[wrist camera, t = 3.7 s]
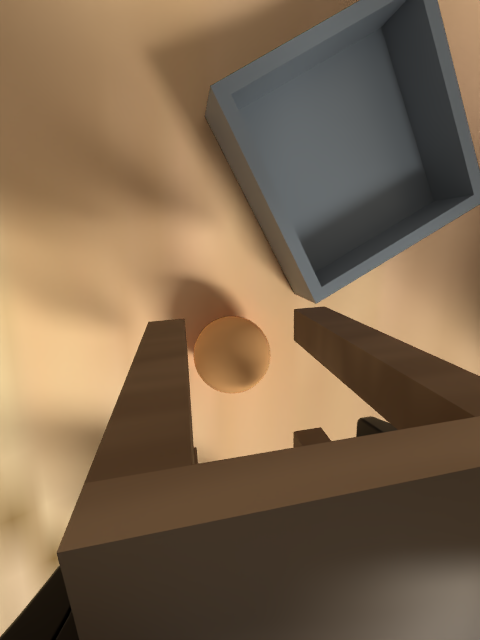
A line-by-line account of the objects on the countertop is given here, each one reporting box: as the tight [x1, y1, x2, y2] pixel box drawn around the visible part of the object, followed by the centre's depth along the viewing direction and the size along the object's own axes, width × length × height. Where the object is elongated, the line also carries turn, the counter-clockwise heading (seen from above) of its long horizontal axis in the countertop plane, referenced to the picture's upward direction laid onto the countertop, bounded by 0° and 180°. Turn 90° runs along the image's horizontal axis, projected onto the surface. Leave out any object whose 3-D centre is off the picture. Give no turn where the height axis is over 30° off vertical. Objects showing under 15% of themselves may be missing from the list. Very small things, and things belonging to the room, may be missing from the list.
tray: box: [205, 0, 480, 303], centre depth 15 cm, size 10×10×3 cm
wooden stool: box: [57, 307, 480, 640], centre depth 8 cm, size 6×6×8 cm
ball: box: [194, 316, 270, 393], centre depth 16 cm, size 4×4×4 cm
